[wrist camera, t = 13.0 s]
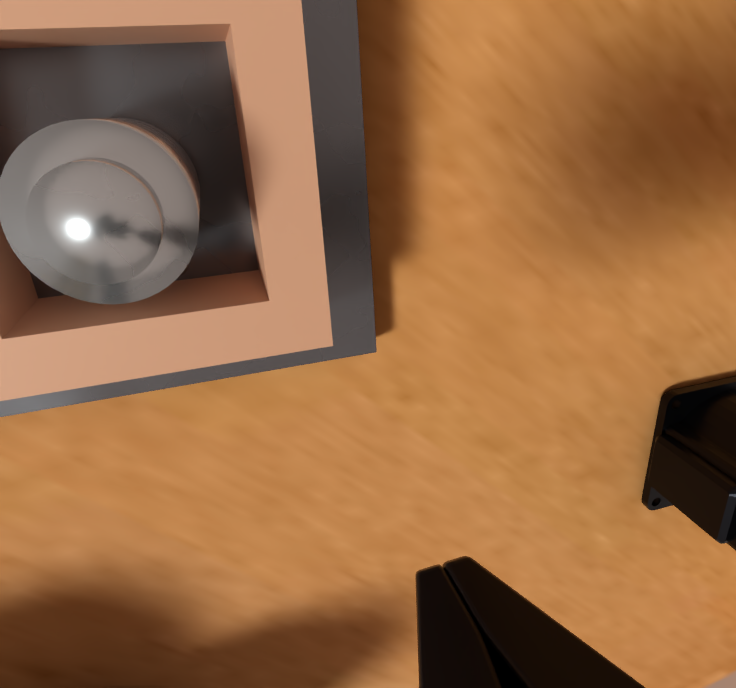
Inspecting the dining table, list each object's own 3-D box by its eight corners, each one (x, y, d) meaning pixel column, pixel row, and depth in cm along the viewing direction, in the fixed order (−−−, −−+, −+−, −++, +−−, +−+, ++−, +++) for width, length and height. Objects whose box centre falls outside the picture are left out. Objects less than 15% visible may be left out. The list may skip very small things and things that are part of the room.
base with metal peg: (329, -284, 13) (429, -602, 7) (368, 341, 19) (436, 434, 14) (-379, -356, 10) (-1182, -1005, 4) (-46, 410, 16) (-177, 566, 11)
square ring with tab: (247, -315, 11) (260, -448, 9) (312, 309, 17) (333, 346, 14) (-282, -376, 9) (-477, -572, 7) (-5, 356, 15) (-49, 409, 12)
